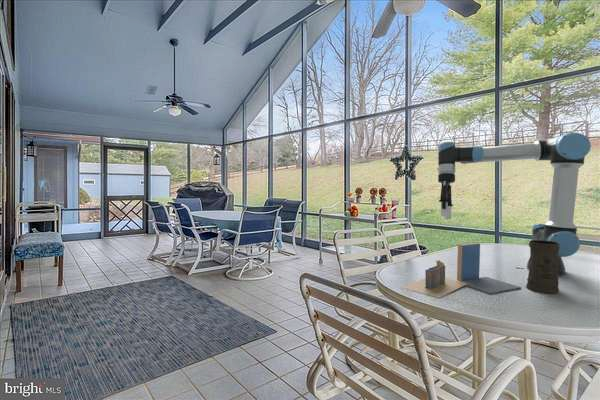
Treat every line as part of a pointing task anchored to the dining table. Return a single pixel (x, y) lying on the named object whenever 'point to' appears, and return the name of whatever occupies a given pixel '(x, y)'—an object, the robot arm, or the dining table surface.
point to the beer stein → (543, 267)
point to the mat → (489, 285)
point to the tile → (468, 261)
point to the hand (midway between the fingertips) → (446, 217)
